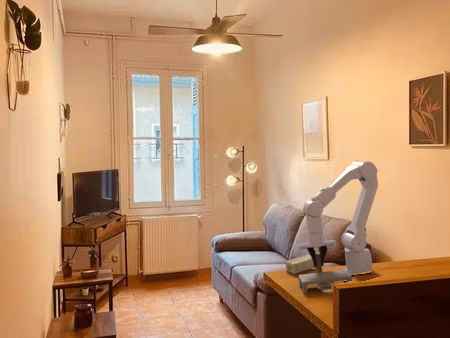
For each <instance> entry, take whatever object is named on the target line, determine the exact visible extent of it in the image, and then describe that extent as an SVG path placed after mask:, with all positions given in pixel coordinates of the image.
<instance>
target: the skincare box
mask: <svg viewBox="0 0 450 338" xmlns="http://www.w3.org/2000/svg"><path fill="white" fill-rule="evenodd" d="M284 264H285V271H286V272H288V273H290V274H294V275H296V274H299V273H302V272H306V271H308V270H313V269H315V266H314V263H313V260H312V258H311V256H310V254H306V255H301V256H299V257H296V258H292V259H288V260H286V261H285V263H284Z"/></svg>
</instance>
